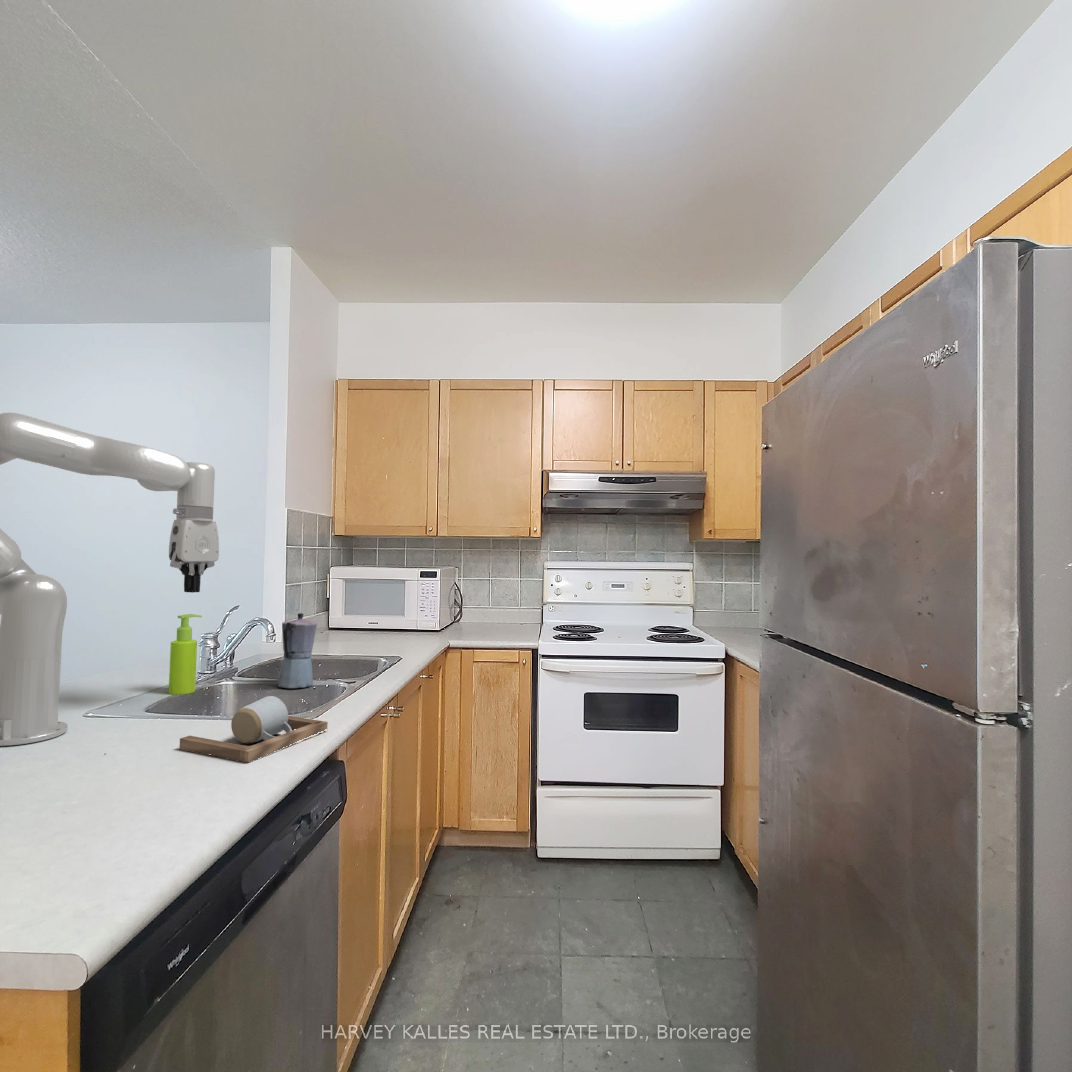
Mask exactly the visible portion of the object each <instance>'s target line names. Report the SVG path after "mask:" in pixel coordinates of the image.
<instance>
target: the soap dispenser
mask: <svg viewBox="0 0 1072 1072" xmlns="http://www.w3.org/2000/svg"><path fill="white" fill-rule="evenodd" d="M202 617H203V615H200V614H192V613H191V614H190V613H189V614H181V615H177V619H180V626H178V627H176V640H173V641H170V652H169V674H168V675H169V676H168V677H169V678H168V679H169V680H168V695H173V696H174V695H175V696H179V695H189V694H192V693H195V692H196V678H197V677H196V676H197V652H198V651H197V649H198V640H196V639H193V638H192V636H193V627H191V626H189V622H190V621H189V620H190V618H202Z"/></svg>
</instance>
